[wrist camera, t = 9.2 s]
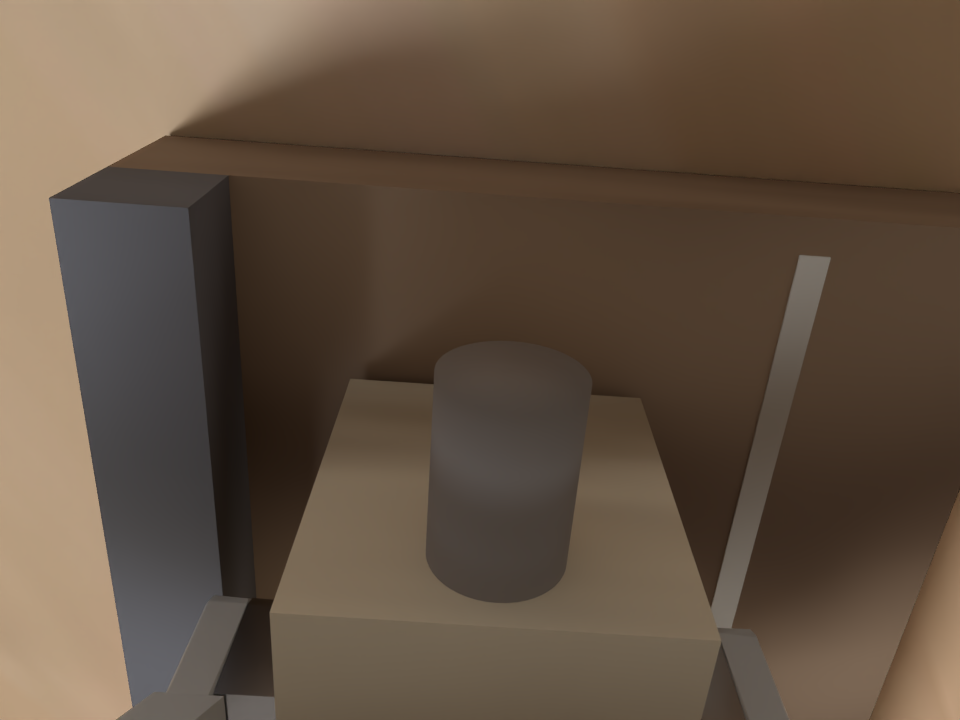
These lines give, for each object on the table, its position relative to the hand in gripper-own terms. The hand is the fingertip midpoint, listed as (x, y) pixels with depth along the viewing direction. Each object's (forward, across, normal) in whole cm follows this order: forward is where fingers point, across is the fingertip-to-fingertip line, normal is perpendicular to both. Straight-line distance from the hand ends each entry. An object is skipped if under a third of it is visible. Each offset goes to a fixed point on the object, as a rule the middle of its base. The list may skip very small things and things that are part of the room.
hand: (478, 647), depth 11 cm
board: (+4, -1, +4) cm, 6 cm away
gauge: (+2, 0, 0) cm, 2 cm away
